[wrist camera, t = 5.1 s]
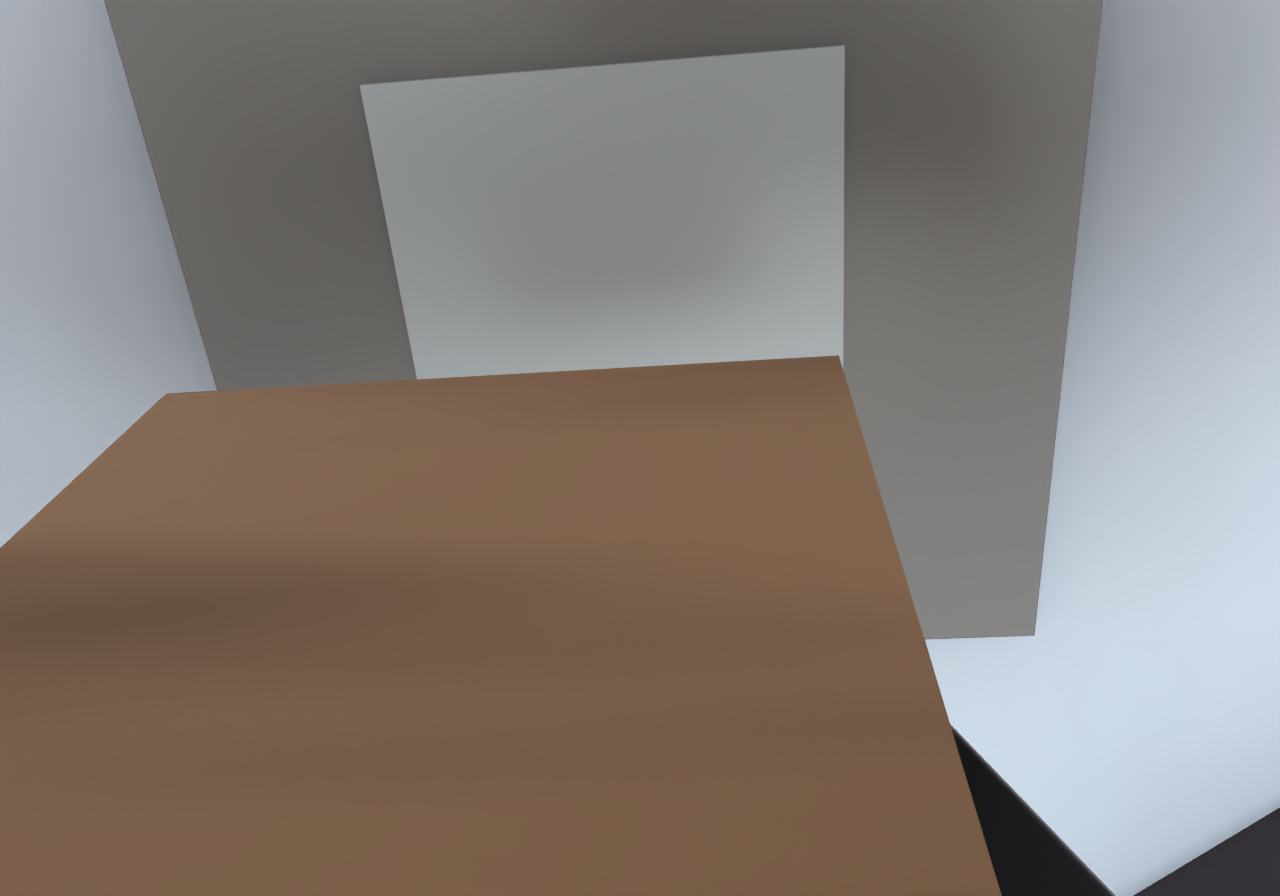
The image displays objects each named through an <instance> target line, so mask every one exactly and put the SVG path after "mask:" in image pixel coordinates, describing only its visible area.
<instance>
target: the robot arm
mask: <svg viewBox="0 0 1280 896" xmlns="http://www.w3.org/2000/svg"><path fill="white" fill-rule="evenodd" d="M950 726H951V725H950ZM951 729H952V733H953V736H954V739H955V743H956V746H957V749H958V753H959V756H960V759H961V763H962V766H963V769H964V773H965V776H966V779H967V782H968V786H969V789H970V792H971V796H972V799H973V802H974V806H975V809H976V812H977V816H978V819H979V822H980V826H981V829H982V832H983V836H984V839H985V842H986V846H987V849H988V852H989V855H990V859H991V862H992V865H993V869H994V872H995V875H996V879H997V882H998V885H999V889H1000V892H1001V895H1002V896H1115V895H1114V894H1113V893H1112V892H1111V891H1110V890H1109V889H1108V887H1107V886H1106V885H1105V884H1104V883H1103V882H1102V881H1101V880H1100V879H1099V878H1098V877H1097V876H1096V875H1095V874H1094V873H1093V872H1092V871H1091V870H1090V869H1089V868H1088V867H1087V866H1086V865H1085V864H1084V863H1083V862H1082V861H1081V859H1080V858H1079V857H1078V856H1077V855H1076V854H1075V853H1074V852H1073V851H1072V850H1071V849H1070V848H1069V847H1068V846H1067V845H1066V844H1065V843H1064V842H1063V841H1062V840H1061V839H1060V838H1059V837H1058V836H1057V835H1056V834H1055V832H1054V831H1053V830H1052V829H1051V828H1050V827H1049V826H1048V825H1047V824H1046V823H1045V822H1044V821H1043V820H1042V819H1041V818H1040V817H1039V816H1038V815H1037V814H1036V813H1035V812H1034V811H1033V810H1032V809H1031V808H1030V807H1029V805H1028V804H1027V803H1026V802H1025V801H1024V800H1023V799H1022V798H1021V797H1020V796H1019V795H1018V794H1017V793H1016V792H1015V791H1014V790H1013V789H1012V788H1011V787H1010V786H1009V785H1008V784H1007V783H1006V782H1005V781H1004V780H1003V779H1002V777H1001V776H1000V775H999V774H998V773H997V772H996V771H995V770H994V769H993V768H992V767H991V766H990V765H989V764H988V763H987V762H986V761H985V760H984V759H983V758H982V757H981V756H980V755H979V754H978V753H977V752H976V750H975V749H974V748H973V747H972V746H971V745H970V744H969V743H968V742H967V741H966V740H965V739H964V738H963V737H962V736H961V735H960V734H959V733H958V732H957V731H956V730H955V729H954V728H953V727H952V726H951Z"/></svg>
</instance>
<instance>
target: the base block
mask: <svg viewBox="0 0 1280 896" xmlns="http://www.w3.org/2000/svg"><path fill="white" fill-rule="evenodd" d="M0 896H1002V895H1001V892H1000V889H999V885H998V882H997V879H996V875H995V872H994V869H993V865H992V862H991V859H990V855H989V852H988V849H987V846H986V842H985V839H984V836H983V832H982V829H981V826H980V822H979V819H978V816H977V812H976V809H975V806H974V802H973V799H972V796H971V792H970V789H969V786H968V782H967V779H966V776H965V773H964V769H963V766H962V763H961V759H960V756H959V753H958V749H957V746H956V743H955V739H954V736H953V733H952V729H951V726H950V723H949V719H948V716H947V713H946V709H945V706H944V703H943V699H942V696H941V693H940V690H939V686H938V683H937V680H936V676H935V673H934V670H933V666H932V663H931V660H930V656H929V653H928V650H927V646H926V643H925V640H924V636H923V633H922V630H921V626H920V623H919V620H918V617H917V613H916V610H915V607H914V603H913V600H912V597H911V593H910V590H909V587H908V583H907V580H906V577H905V573H904V570H903V567H902V563H901V560H900V557H899V553H898V550H897V547H896V543H895V540H894V537H893V534H892V530H891V527H890V524H889V520H888V517H887V514H886V510H885V507H884V504H883V500H882V497H881V494H880V490H879V487H878V484H877V480H876V477H875V474H874V470H873V467H872V464H871V461H870V457H869V454H868V451H867V447H866V444H865V441H864V437H863V434H862V431H861V427H860V424H859V421H858V417H857V414H856V411H855V407H854V404H853V401H852V397H851V394H850V391H849V388H848V384H847V381H846V378H845V374H844V371H843V368H842V364H841V361H840V358H839V355H837V356H820V357H802V358H784V359H767V360H749V361H732V362H714V363H697V364H679V365H661V366H644V367H626V368H609V369H591V370H574V371H556V372H538V373H521V374H503V375H486V376H468V377H451V378H433V379H415V380H398V381H380V382H363V383H345V384H328V385H310V386H292V387H275V388H257V389H240V390H222V391H205V392H187V393H169V394H166V395H165V396H163V397H162V398H161V399H160V400H159V401H158V402H157V403H156V404H155V405H154V406H153V407H152V408H151V409H149V410H148V411H147V412H146V413H145V414H144V415H143V416H142V417H141V418H140V419H139V420H138V421H137V422H135V423H134V424H133V425H132V426H131V427H130V428H129V429H128V430H127V431H126V432H125V433H124V434H123V435H122V436H120V437H119V438H118V439H117V440H116V441H115V442H114V443H113V444H112V445H111V446H110V447H109V448H108V449H106V450H105V451H104V452H103V453H102V454H101V455H100V456H99V457H98V458H97V459H96V460H95V461H94V462H93V463H91V464H90V465H89V466H88V467H87V468H86V469H85V470H84V471H83V472H82V473H81V474H80V475H79V476H77V477H76V478H75V479H74V480H73V481H72V482H71V483H70V484H69V485H68V486H67V487H66V488H65V489H63V490H62V491H61V492H60V493H59V494H58V495H57V496H56V497H55V498H54V499H53V500H52V501H51V502H50V503H48V504H47V505H46V506H45V507H44V508H43V509H42V510H41V511H40V512H39V513H38V514H37V515H36V516H34V517H33V518H32V519H31V520H30V521H29V522H28V523H27V524H26V525H25V526H24V527H23V528H22V529H21V530H19V531H18V532H17V533H16V534H15V535H14V536H13V537H12V538H11V539H10V540H9V541H8V542H7V543H5V544H4V545H3V546H2V547H1V548H0Z"/></svg>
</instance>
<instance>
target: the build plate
mask: <svg viewBox="0 0 1280 896" xmlns="http://www.w3.org/2000/svg"><path fill="white" fill-rule="evenodd" d="M104 1H105V5H106V8H107V12H108V15H109V19H110V22H111V26H112V29H113V32H114V36H115V39H116V43H117V46H118V50H119V53H120V57H121V60H122V63H123V67H124V70H125V74H126V77H127V81H128V84H129V88H130V91H131V94H132V98H133V101H134V105H135V108H136V112H137V115H138V119H139V122H140V125H141V129H142V132H143V136H144V139H145V143H146V146H147V150H148V153H149V156H150V160H151V163H152V167H153V170H154V174H155V177H156V181H157V184H158V187H159V191H160V194H161V198H162V201H163V205H164V208H165V212H166V215H167V218H168V222H169V225H170V229H171V232H172V236H173V239H174V243H175V246H176V249H177V253H178V256H179V260H180V263H181V267H182V270H183V274H184V277H185V280H186V284H187V287H188V291H189V294H190V298H191V301H192V305H193V308H194V311H195V315H196V318H197V322H198V325H199V329H200V332H201V336H202V339H203V342H204V346H205V349H206V353H207V356H208V360H209V363H210V367H211V370H212V373H213V377H214V380H215V384H216V387H217V391H222V390H240V389H257V388H275V387H292V386H310V385H328V384H345V383H363V382H380V381H398V380H415V379H433V378H451V377H468V376H486V375H503V374H521V373H538V372H556V371H574V370H591V369H609V368H626V367H644V366H661V365H679V364H697V363H714V362H732V361H749V360H767V359H784V358H802V357H820V356H837V355H839V358H840V361H841V364H842V368H843V371H844V374H845V378H846V381H847V384H848V388H849V391H850V394H851V397H852V401H853V404H854V407H855V411H856V414H857V417H858V421H859V424H860V427H861V431H862V434H863V437H864V441H865V444H866V447H867V451H868V454H869V457H870V461H871V464H872V467H873V470H874V474H875V477H876V480H877V484H878V487H879V490H880V494H881V497H882V500H883V504H884V507H885V510H886V514H887V517H888V520H889V524H890V527H891V530H892V534H893V537H894V540H895V543H896V547H897V550H898V553H899V557H900V560H901V563H902V567H903V570H904V573H905V577H906V580H907V583H908V587H909V590H910V593H911V597H912V600H913V603H914V607H915V610H916V613H917V617H918V620H919V623H920V626H921V630H922V633H923V636H924V639H949V638H979V637H1008V636H1034V635H1035V625H1036V616H1037V606H1038V597H1039V588H1040V578H1041V569H1042V560H1043V550H1044V541H1045V531H1046V522H1047V513H1048V503H1049V494H1050V485H1051V475H1052V466H1053V456H1054V447H1055V438H1056V428H1057V419H1058V410H1059V400H1060V391H1061V382H1062V372H1063V363H1064V353H1065V344H1066V335H1067V325H1068V316H1069V307H1070V297H1071V288H1072V278H1073V269H1074V260H1075V250H1076V241H1077V232H1078V222H1079V213H1080V203H1081V194H1082V185H1083V175H1084V166H1085V157H1086V147H1087V138H1088V128H1089V119H1090V110H1091V100H1092V91H1093V82H1094V72H1095V63H1096V53H1097V44H1098V35H1099V25H1100V16H1101V7H1102V0H104Z"/></svg>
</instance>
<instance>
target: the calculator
mask: <svg viewBox="0 0 1280 896" xmlns="http://www.w3.org/2000/svg"><path fill="white" fill-rule="evenodd" d="M1134 896H1280V808H1279V809H1277V810H1275V811H1274V812H1272V813H1270V814H1269V815H1267V816H1265V817H1264V818H1262V819H1260V820H1259V821H1257V822H1255V823H1254V824H1252V825H1250V826H1249V827H1247V828H1245V829H1244V830H1242V831H1240V832H1239V833H1237V834H1235V835H1234V836H1232V837H1230V838H1229V839H1227V840H1225V841H1224V842H1222V843H1220V844H1219V845H1217V846H1215V847H1214V848H1212V849H1210V850H1209V851H1207V852H1205V853H1204V854H1202V855H1200V856H1199V857H1197V858H1195V859H1194V860H1192V861H1190V862H1189V863H1187V864H1186V865H1184V866H1182V867H1181V868H1179V869H1177V870H1176V871H1174V872H1172V873H1171V874H1169V875H1167V876H1166V877H1164V878H1162V879H1161V880H1159V881H1157V882H1156V883H1154V884H1152V885H1151V886H1149V887H1147V888H1146V889H1144V890H1142V891H1141V892H1139V893H1137V894H1136V895H1134Z"/></svg>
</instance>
